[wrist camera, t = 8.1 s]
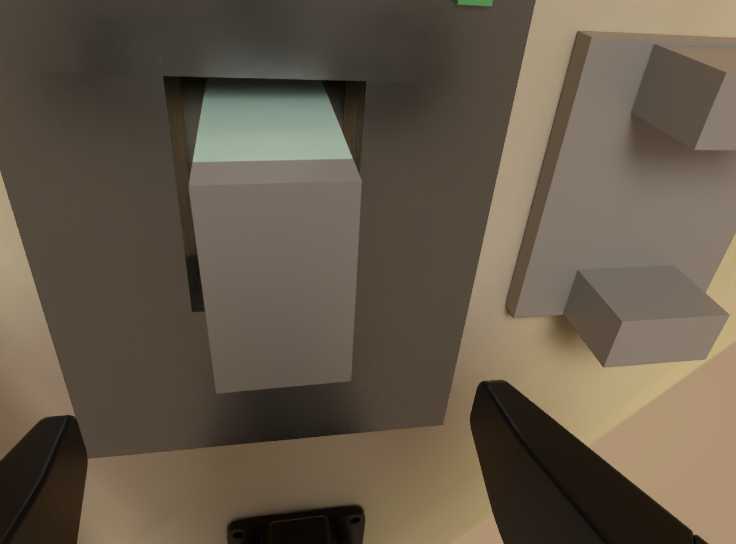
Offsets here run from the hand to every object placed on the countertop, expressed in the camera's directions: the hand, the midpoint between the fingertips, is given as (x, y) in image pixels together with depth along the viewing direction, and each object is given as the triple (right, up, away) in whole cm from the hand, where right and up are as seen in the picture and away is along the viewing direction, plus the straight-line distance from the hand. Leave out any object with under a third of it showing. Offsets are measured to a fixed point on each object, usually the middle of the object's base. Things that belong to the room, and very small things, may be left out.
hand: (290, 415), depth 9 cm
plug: (-2, +6, +8) cm, 10 cm away
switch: (-2, +6, +8) cm, 10 cm away
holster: (+11, +5, +11) cm, 16 cm away
